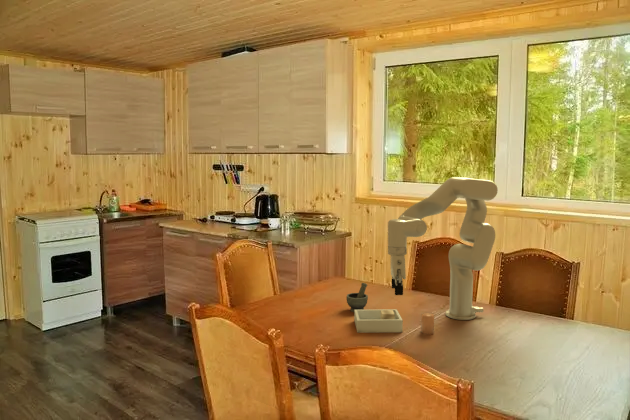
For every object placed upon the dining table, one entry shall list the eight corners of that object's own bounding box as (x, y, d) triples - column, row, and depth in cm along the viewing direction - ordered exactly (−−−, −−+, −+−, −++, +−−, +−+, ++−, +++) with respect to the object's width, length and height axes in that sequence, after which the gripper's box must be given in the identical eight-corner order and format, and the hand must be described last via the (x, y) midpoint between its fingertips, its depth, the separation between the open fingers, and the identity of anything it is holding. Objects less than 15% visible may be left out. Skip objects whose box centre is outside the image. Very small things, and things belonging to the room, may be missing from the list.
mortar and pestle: (357, 315, 228) (358, 288, 226) (342, 310, 234) (342, 284, 233) (374, 309, 235) (374, 283, 234) (358, 305, 242) (358, 280, 241)
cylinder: (432, 330, 209) (432, 313, 208) (435, 334, 204) (435, 317, 203) (419, 330, 209) (420, 313, 208) (422, 334, 204) (423, 317, 203)
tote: (396, 320, 220) (396, 309, 219) (402, 332, 206) (402, 320, 205) (354, 321, 220) (354, 309, 219) (357, 332, 206) (357, 320, 205)
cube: (392, 322, 215) (392, 310, 215) (394, 326, 210) (394, 314, 210) (380, 322, 215) (380, 310, 215) (382, 326, 210) (382, 314, 210)
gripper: (410, 254, 199) (410, 297, 201) (403, 245, 216) (403, 285, 218) (390, 254, 199) (390, 297, 201) (385, 246, 216) (385, 285, 219)
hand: (397, 291), depth 210 cm, fingers open, 9 cm apart
